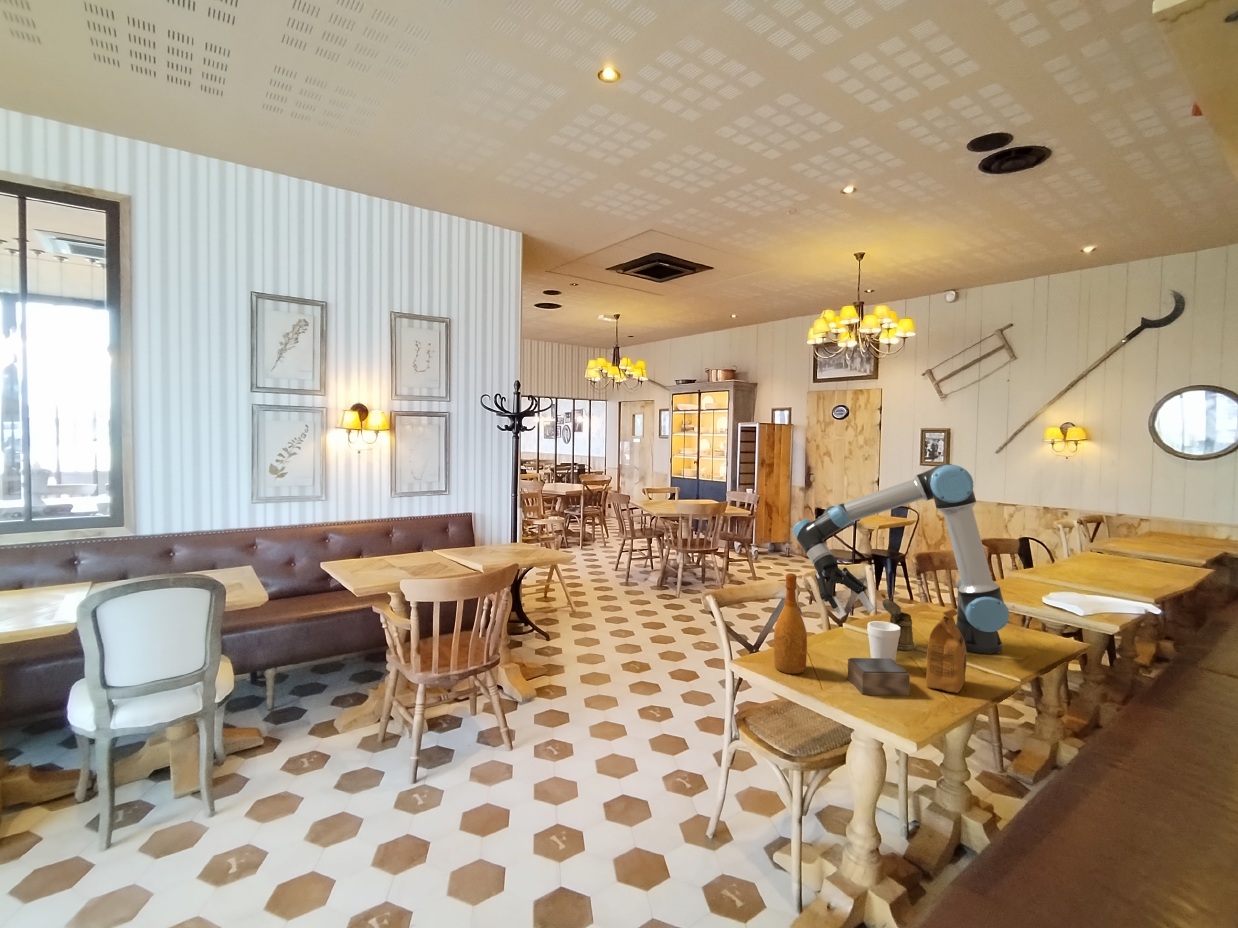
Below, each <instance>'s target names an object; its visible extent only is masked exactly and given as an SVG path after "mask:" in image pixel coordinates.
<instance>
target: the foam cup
mask: <svg viewBox="0 0 1238 928" xmlns="http://www.w3.org/2000/svg"><path fill="white" fill-rule="evenodd" d="M866 626H867V631H866V632H867V635H868V643H869V652H870V653H869V654H870V658H891V659H892V660H894V661H895V662H896V659H897V657H896V656H897V652H898V650H897V647H898V641H899V637H900V627H899V626H898V625H896V624H893V623H890V621H889V622H888V621H881V620H878V621H877V620H875V621H873V620H872V621H869V622H867V625H866Z"/></svg>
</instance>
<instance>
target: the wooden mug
mask: <svg viewBox="0 0 1238 928" xmlns="http://www.w3.org/2000/svg"><path fill="white" fill-rule="evenodd" d="M882 606H883V609H884V610H885V611H887V612H888V613H889V614H890V618H889V623H893V624H896V625H898V626H899V627H900V637H899V641H898V647H897V651H905V652H908V651H914V649H915V641H914V635H913V626H912V625H913V620H912V617H911V614H909V613H906V612H902V610H901V607H900V606H899V604H897V603H896V602H894V601H893V600H892V599H889V598H885V599H884V600H882Z"/></svg>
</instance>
